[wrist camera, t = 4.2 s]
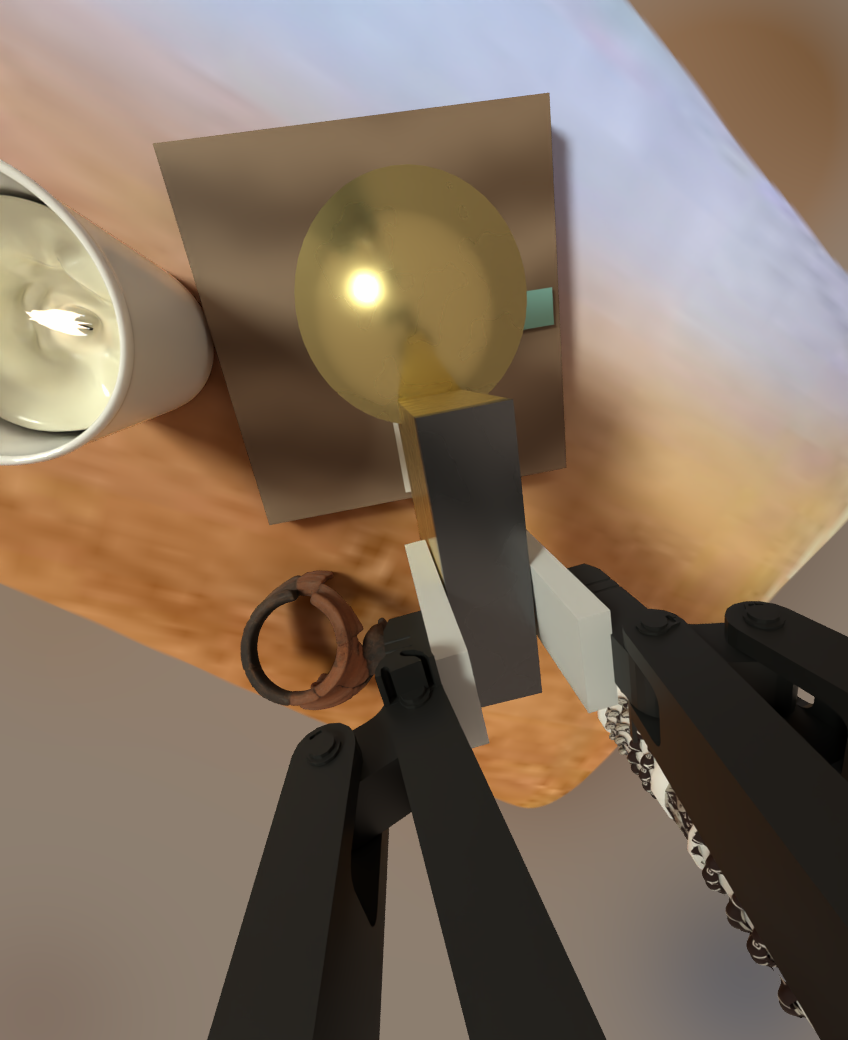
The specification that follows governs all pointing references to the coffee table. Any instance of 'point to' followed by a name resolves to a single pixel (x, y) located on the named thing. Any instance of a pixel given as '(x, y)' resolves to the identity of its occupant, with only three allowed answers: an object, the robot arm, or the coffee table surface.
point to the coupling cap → (435, 384)
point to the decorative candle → (688, 835)
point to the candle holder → (85, 330)
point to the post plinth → (271, 282)
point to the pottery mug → (351, 657)
